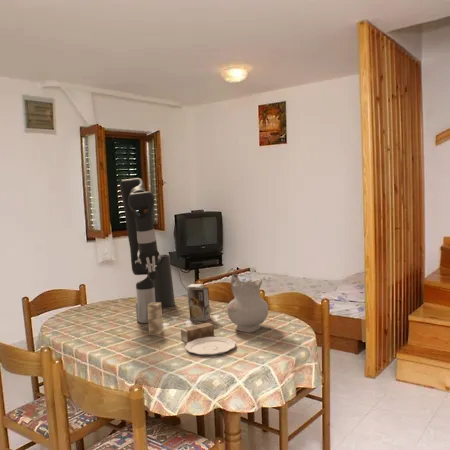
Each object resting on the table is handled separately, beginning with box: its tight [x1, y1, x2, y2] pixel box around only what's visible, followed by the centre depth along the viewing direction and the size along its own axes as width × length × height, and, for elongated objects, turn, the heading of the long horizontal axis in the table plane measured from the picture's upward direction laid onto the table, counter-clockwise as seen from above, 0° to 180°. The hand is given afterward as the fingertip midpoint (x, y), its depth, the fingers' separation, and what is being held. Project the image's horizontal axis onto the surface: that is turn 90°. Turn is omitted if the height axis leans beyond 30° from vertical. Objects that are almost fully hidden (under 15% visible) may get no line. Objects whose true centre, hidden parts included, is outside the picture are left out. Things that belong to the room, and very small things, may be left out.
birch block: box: [147, 302, 164, 336], centre depth 213 cm, size 5×5×14 cm
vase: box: [154, 254, 176, 309], centre depth 266 cm, size 14×14×29 cm
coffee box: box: [187, 286, 211, 322], centre depth 232 cm, size 9×6×16 cm
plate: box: [184, 336, 237, 356], centre depth 189 cm, size 21×21×2 cm
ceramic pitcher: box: [226, 273, 269, 333], centre depth 214 cm, size 22×20×25 cm
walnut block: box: [180, 322, 215, 344], centre depth 203 cm, size 5×5×14 cm
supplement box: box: [186, 283, 205, 307], centre depth 257 cm, size 7×7×13 cm
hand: (152, 279), depth 193 cm, fingers closed
